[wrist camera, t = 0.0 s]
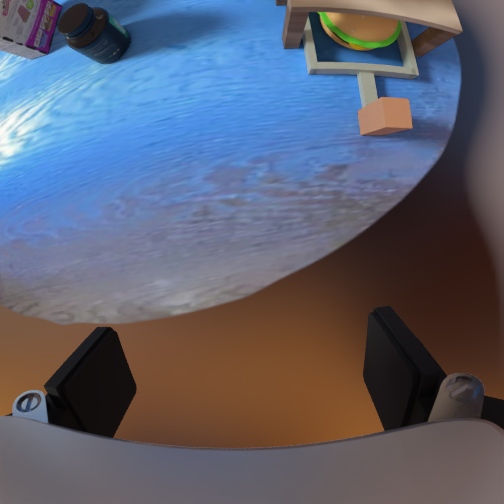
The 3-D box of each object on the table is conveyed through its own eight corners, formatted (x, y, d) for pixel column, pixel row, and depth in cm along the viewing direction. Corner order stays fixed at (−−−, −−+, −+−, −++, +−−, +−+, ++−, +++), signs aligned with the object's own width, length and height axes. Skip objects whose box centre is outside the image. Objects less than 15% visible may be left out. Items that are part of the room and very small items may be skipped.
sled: (290, -15, 30) (295, -48, 22) (388, -7, 29) (408, -33, 21) (316, 136, 37) (331, 127, 28) (420, 136, 36) (454, 131, 27)
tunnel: (274, -4, 31) (277, -52, 19) (406, 6, 30) (439, -27, 18) (284, 48, 34) (291, 6, 22) (420, 56, 32) (462, 31, 21)
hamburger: (351, 72, 34) (371, 51, 26) (295, 14, 32) (301, -16, 24) (403, 39, 32) (428, 19, 23) (351, -14, 30) (365, -42, 21)
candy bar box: (44, 13, 30) (-7, -14, 15) (63, 5, 30) (12, -26, 14) (30, 61, 33) (-30, 43, 18) (48, 55, 33) (-13, 32, 18)
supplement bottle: (137, 27, 33) (103, -7, 21) (123, 65, 35) (82, 38, 23) (102, 28, 32) (63, 0, 21) (88, 65, 34) (44, 43, 23)
